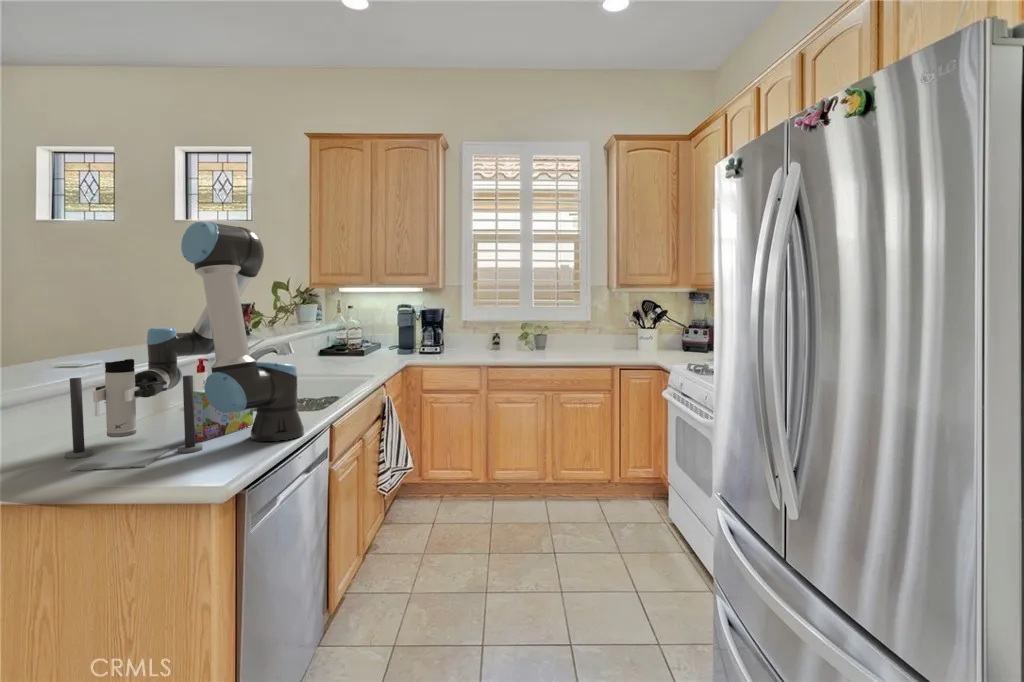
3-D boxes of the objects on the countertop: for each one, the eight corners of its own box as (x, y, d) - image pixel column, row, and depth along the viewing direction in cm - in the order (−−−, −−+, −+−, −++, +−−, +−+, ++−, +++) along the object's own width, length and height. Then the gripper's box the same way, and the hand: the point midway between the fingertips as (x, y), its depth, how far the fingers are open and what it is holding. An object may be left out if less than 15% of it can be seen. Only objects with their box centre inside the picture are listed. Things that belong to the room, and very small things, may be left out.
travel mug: (122, 438, 137) (119, 360, 135) (100, 436, 138) (98, 359, 137) (143, 432, 143) (141, 358, 142) (122, 431, 144) (120, 357, 143)
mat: (169, 450, 151) (169, 448, 151) (144, 467, 135) (144, 465, 135) (104, 453, 147) (103, 451, 147) (70, 471, 131) (70, 469, 131)
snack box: (205, 442, 160) (203, 391, 159) (189, 440, 161) (187, 391, 160) (254, 426, 181) (253, 381, 180) (240, 425, 182) (239, 381, 181)
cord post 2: (207, 448, 153) (205, 374, 152) (191, 453, 147) (188, 377, 146) (189, 446, 155) (187, 374, 153) (172, 452, 149) (169, 376, 147)
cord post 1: (99, 453, 147) (95, 377, 146) (77, 459, 141) (73, 380, 140) (81, 451, 148) (77, 376, 147) (58, 457, 142) (54, 379, 141)
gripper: (186, 394, 160) (154, 410, 137) (112, 396, 155) (66, 412, 133) (186, 369, 159) (153, 381, 137) (111, 370, 155) (65, 382, 132)
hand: (110, 396), depth 135 cm, fingers closed on travel mug, 6 cm apart
